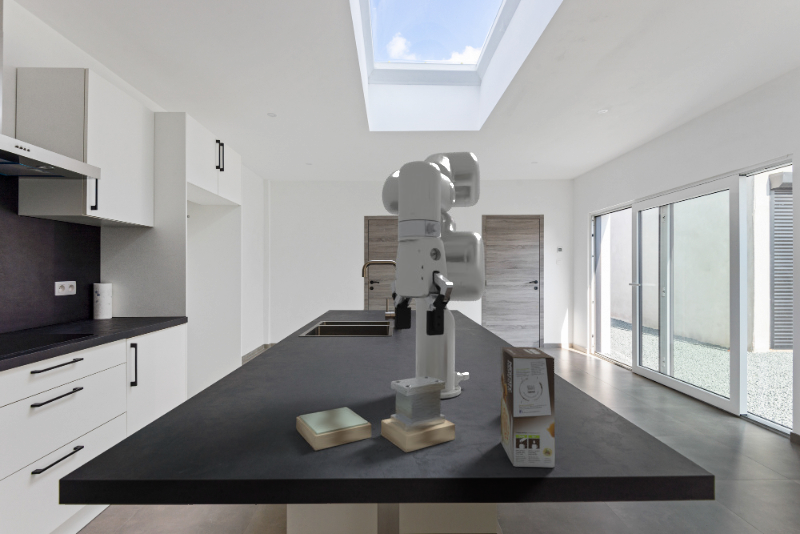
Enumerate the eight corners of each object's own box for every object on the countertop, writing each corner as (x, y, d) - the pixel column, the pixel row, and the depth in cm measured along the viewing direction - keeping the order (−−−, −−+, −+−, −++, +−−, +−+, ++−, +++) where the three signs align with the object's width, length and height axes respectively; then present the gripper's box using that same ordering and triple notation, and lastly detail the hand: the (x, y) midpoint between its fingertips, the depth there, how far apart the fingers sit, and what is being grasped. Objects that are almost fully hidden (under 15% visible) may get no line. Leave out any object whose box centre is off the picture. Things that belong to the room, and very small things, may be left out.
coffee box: (557, 468, 56) (556, 357, 56) (512, 467, 56) (512, 356, 56) (536, 441, 65) (536, 346, 65) (498, 441, 65) (498, 346, 66)
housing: (427, 413, 71) (428, 375, 71) (444, 422, 66) (445, 381, 67) (390, 422, 66) (391, 381, 67) (406, 431, 62) (406, 388, 62)
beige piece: (427, 423, 72) (427, 410, 72) (454, 439, 66) (455, 424, 66) (381, 434, 67) (381, 420, 67) (406, 452, 60) (406, 436, 60)
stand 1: (347, 418, 75) (347, 406, 75) (371, 437, 66) (371, 422, 66) (296, 429, 69) (296, 415, 69) (315, 450, 61) (315, 434, 61)
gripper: (468, 230, 62) (468, 336, 61) (409, 240, 77) (408, 326, 76) (431, 225, 58) (430, 339, 57) (376, 237, 73) (375, 328, 72)
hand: (418, 331), depth 66 cm, fingers open, 9 cm apart
